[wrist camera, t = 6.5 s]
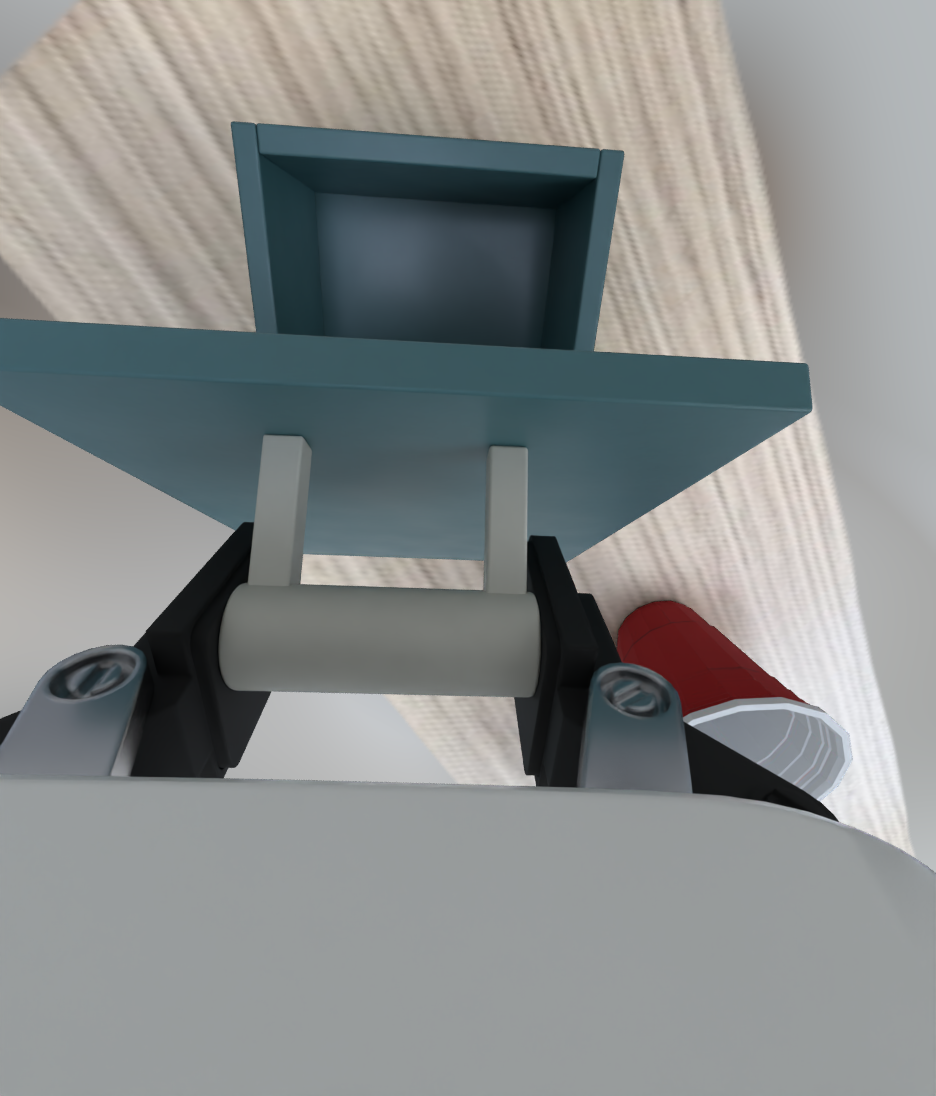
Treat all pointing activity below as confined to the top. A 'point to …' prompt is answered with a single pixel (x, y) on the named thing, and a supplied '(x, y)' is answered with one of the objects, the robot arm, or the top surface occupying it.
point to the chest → (425, 236)
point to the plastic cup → (736, 697)
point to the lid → (391, 474)
